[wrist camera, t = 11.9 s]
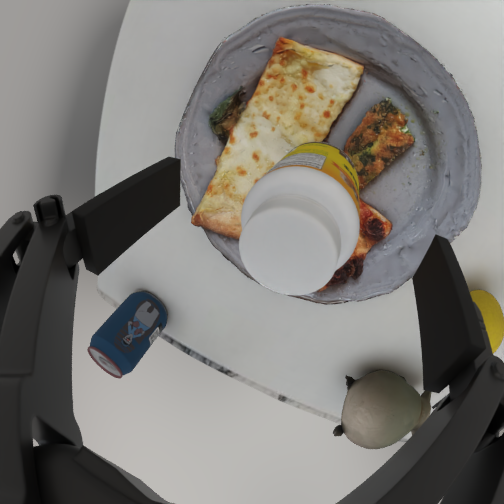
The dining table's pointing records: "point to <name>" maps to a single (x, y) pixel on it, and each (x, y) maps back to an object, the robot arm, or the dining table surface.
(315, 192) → the supplement bottle
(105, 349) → the soda can
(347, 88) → the food plate
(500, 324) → the lemon
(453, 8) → the dining table surface
